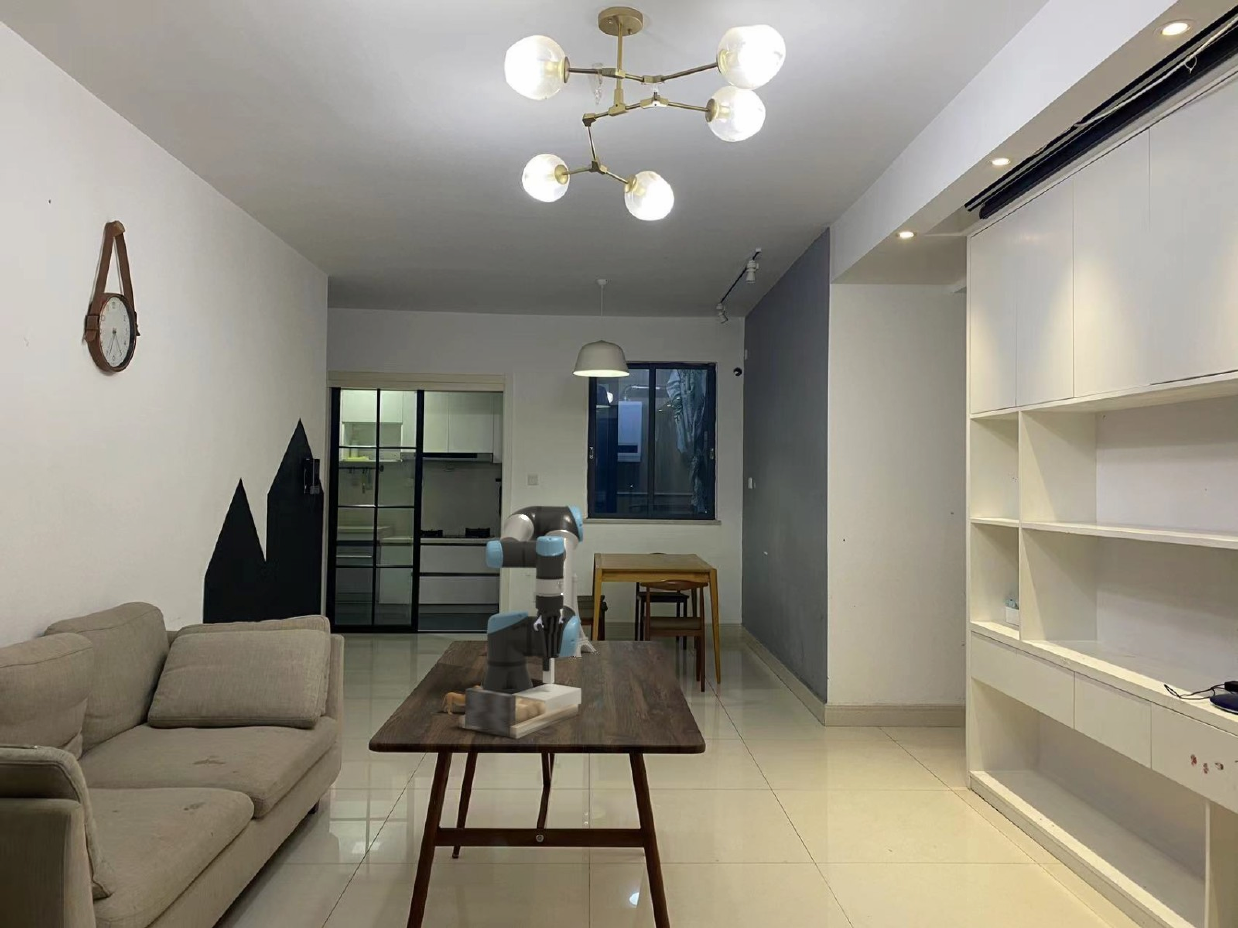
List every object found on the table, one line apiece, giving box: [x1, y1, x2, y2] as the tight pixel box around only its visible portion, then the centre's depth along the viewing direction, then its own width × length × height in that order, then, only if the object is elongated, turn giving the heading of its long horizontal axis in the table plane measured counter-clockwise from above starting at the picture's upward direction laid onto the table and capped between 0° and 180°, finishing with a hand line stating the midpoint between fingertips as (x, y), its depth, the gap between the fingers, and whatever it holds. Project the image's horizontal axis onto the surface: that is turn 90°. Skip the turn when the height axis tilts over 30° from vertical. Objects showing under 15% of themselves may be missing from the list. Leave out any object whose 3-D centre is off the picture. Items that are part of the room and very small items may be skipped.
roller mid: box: [516, 703, 538, 720], centre depth 213 cm, size 12×4×4 cm, turn 57°
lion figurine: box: [436, 685, 483, 715], centre depth 221 cm, size 12×4×7 cm, turn 92°
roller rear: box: [516, 697, 546, 717], centre depth 217 cm, size 12×4×4 cm
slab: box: [512, 683, 582, 714], centre depth 225 cm, size 11×16×4 cm
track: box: [458, 687, 579, 739], centre depth 215 cm, size 18×26×10 cm
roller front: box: [515, 708, 528, 725], centre depth 209 cm, size 12×4×4 cm, turn 59°
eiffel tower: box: [571, 571, 597, 657], centre depth 304 cm, size 13×13×30 cm
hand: (548, 682), depth 226 cm, fingers closed
